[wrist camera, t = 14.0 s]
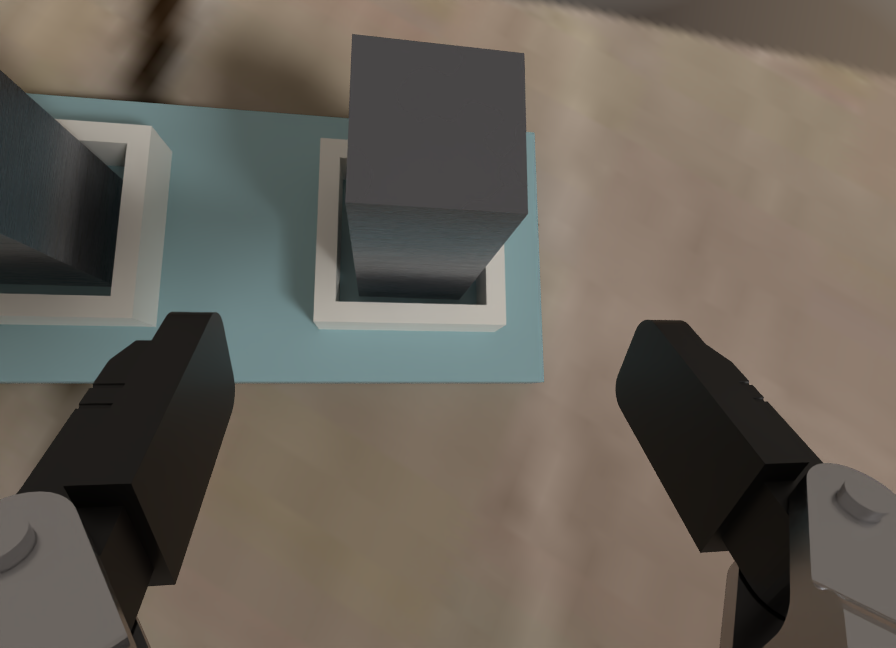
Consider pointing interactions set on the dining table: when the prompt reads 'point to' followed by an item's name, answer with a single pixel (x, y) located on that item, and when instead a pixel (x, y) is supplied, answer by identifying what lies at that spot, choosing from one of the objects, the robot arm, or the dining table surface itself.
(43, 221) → the seated billet
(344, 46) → the dining table surface
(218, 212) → the pallet
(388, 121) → the loose billet
